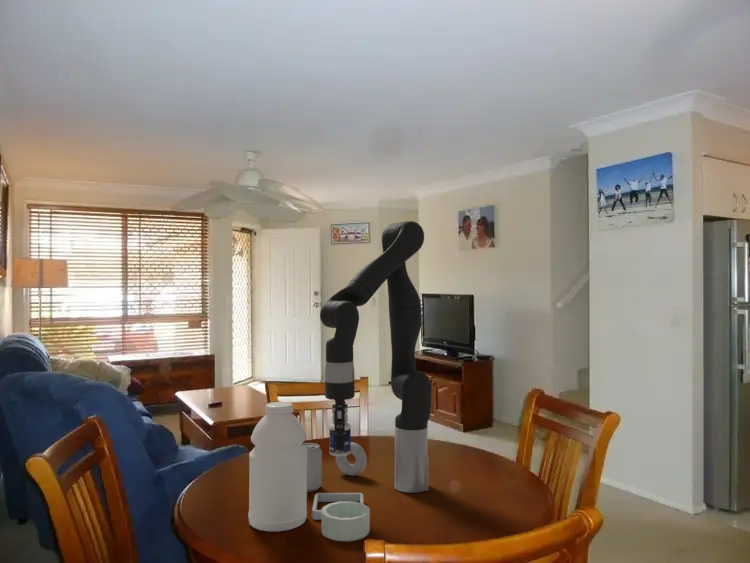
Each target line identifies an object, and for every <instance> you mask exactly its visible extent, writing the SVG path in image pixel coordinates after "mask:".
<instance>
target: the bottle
mask: <svg viewBox="0 0 750 563" xmlns="http://www.w3.org/2000/svg"><path fill="white" fill-rule="evenodd" d="M264 412H265V413H266V414H265V415H264V416H263V417H261V418H260V419H259V421H258V422H257V424H256V425H255V427H254V428H253V431H252V434H251V436H250V441H251V443H252V444H253V445H254V447H253V449H251V451H250V452H249V455H248V458H249V460H248V461H249V474H248V475H249V478H248V479H249V482H248V484H249V485H248V487H249V489H248V493H249V494H248V514H247V515H248V524H249V525H250V526H251V527H252V528H253V529H256V530H259V531H262V532H263V531H264V532H283V531H290V530H293V529H296V528H299V527H300V526H302V525H303V524H305V522H306V520H307V517H308V516H307V514H308V510H307V508H308V506H307V505H308V503H307V500H308V499H307V497H308V492H307V457H308V452H307V450H306V449H305V448H304V447H303V446H302V444H304V443H305V441H306V440H307V435H306V431H305V428H304V427H303V425H302V423H301V421H300V420H299V419H298V418H297V417H296V416H295V415H294V413H293V412H294V405H293V403H292V402H288V401H274V402H268V403H266V404H265V407H264Z"/></svg>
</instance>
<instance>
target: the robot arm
mask: <svg viewBox="0 0 750 563" xmlns="http://www.w3.org/2000/svg"><path fill="white" fill-rule="evenodd" d="M424 242H425V232H424V229H423V227H422V226H421V225H420V224H419V223H418V222H415V221H413V220H412V221H411V220H410V221H409V220H407V221H406V220H405V221H399V222H393V223H389V224H387V225H386V226H385V227H384V228H383V231H382V234H381V245H382V246H381V248H382V253H381V254H380V255H378V256H377V257H376V258H374V259H372V260H371V261H370V262H368V263H366V264H365V265H364V266H363V267H362V268H360V269H359V271H358V272H356V274H355V275H354V276H353V277H352V279H351V280H350V281H349V282H348V283H347V285H346V286H344V287H343V288H341V289H340V290H339V291H337V292H336V293H334V294H333V295H332V296H331V297H328V299H327V300H326V301H325V302H324V303H323V305H322V307H321V308H320V312H319V318H320V319H319V320H320V321H321V323H322V325H324V326H325V327H326V328H331V329H335V332H334V336H333V337H332V338H329V339H328V340H326V343H325V368H324V397H325V399H327V400H330V401H331V400H333V401H334V402H335V403H334V404H332V406H331V413H332V415H333V421H332V423H333V424H334V425H335V430H334V433H335V442H336V449H337V450H343V449H344V434H345V425H346V424H347V423H348V421H347V415H348V413H349V412H348V408H349V407H348V406H349V405H348V403H347V402H346V400H351V399H354V397H355V394H356V392H355V391H356V390H355V386H356V385H355V365H354V364H355V363H354V343H355V340H356V337H357V331H358V328H359V322H360V313H359V310H358V307H361V306H364V305H366V304H367V303H368V302H369V301H370V300H371V298H372V297H373V296H374V295H375V293H376V292H377V291H378V290H379V288H380V287H381V286H382V285H383V284H384V283H385V282H386V284H387V285H386V286H387V294H388V314H389V315H388V316H389V327H390V328H389V329H390V346H391V366H390V367H391V368H390V370H391V371H390V373H391V375H390V386H391V391H392V393H393V395H394V396H395V397H396V398H397V399H399V400H401V411H400V413H399V414H397V415H396V416H395V417H394V489H395V490H396V491H399V492H402V493H408V494H409V493H410V494H411V493H412V494H415V493H421V492H428V491H429V458H430V457H429V455H428V433H429V432H428V427H429V426H428V425H429V420H430V418H431V411H432V393H433V391H432V384H431V383H432V382H431V380H430V377H429V376H428V375H427V374H426V373H424V372H422V371H420V370H417V365H416V354H415V353H416V345H417V343H418V339H419V336H420V333H421V329H422V328H421V327H422V323H423V317H422V316H423V315H422V301H421V298H420V296H419V293H418V291H417V289H416V287H415V285H414V284H413V281H412V280H411V279H410V277H409V274H408V270H407V264H406V262H407V261H408V260H409V259H410V258H411V257H413V256H414V255H415V254H416V253H417V252H418V251H420V249H422V247H423V245H424ZM344 414H345V418H344ZM337 425H343V429H337Z"/></svg>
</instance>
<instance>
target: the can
mask: <svg viewBox="0 0 750 563" xmlns="http://www.w3.org/2000/svg"><path fill="white" fill-rule="evenodd" d="M302 446H303V447H304V448H305V449H306V450H307V452H308V457H307V493H309V492H310V493H311V492H314V491H317V490H319V488H320V487H322V478H323V477H322V473H323V472H322V471H323V470H322V469H323V468H322V466H323V465H322V463H323V460H322V458H323V451H322V449H321V448H320V445H319V444H317V443H314V442H306V443H305V442H303V443H302Z"/></svg>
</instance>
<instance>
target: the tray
mask: <svg viewBox="0 0 750 563" xmlns="http://www.w3.org/2000/svg"><path fill="white" fill-rule="evenodd" d="M340 501H353V502H358V503H363V504H364V493H362V492H317V493H315V494H314V498H313V503H312V509H311V519H313V520H315V521H317V520H321V521H322V509H318V505H319V503H323V502H324V503H328V502H331V503H335V502H340Z"/></svg>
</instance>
